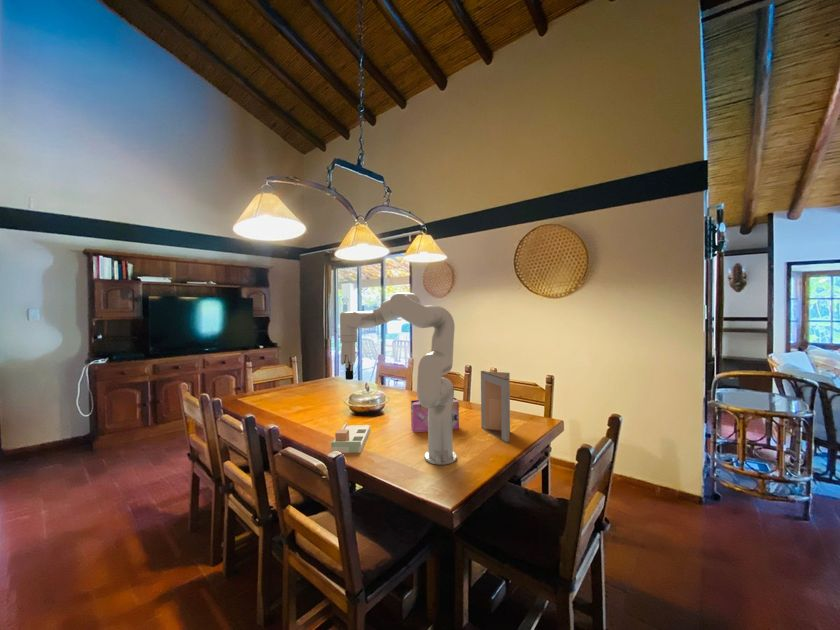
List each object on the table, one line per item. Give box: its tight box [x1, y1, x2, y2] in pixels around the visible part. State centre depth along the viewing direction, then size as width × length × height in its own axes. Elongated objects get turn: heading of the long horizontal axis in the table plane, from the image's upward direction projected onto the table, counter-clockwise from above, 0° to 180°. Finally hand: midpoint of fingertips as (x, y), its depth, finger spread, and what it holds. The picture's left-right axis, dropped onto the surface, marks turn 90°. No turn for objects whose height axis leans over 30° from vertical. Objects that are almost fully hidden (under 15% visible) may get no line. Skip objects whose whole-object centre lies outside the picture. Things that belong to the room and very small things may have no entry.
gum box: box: [410, 397, 460, 433], centre depth 170 cm, size 24×8×14 cm, turn 100°
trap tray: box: [330, 422, 371, 454], centre depth 156 cm, size 26×12×4 cm, turn 0°
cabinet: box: [480, 370, 511, 444], centre depth 162 cm, size 21×10×28 cm, turn 21°
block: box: [334, 428, 349, 441], centre depth 148 cm, size 4×4×4 cm
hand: (349, 379), depth 158 cm, fingers closed
